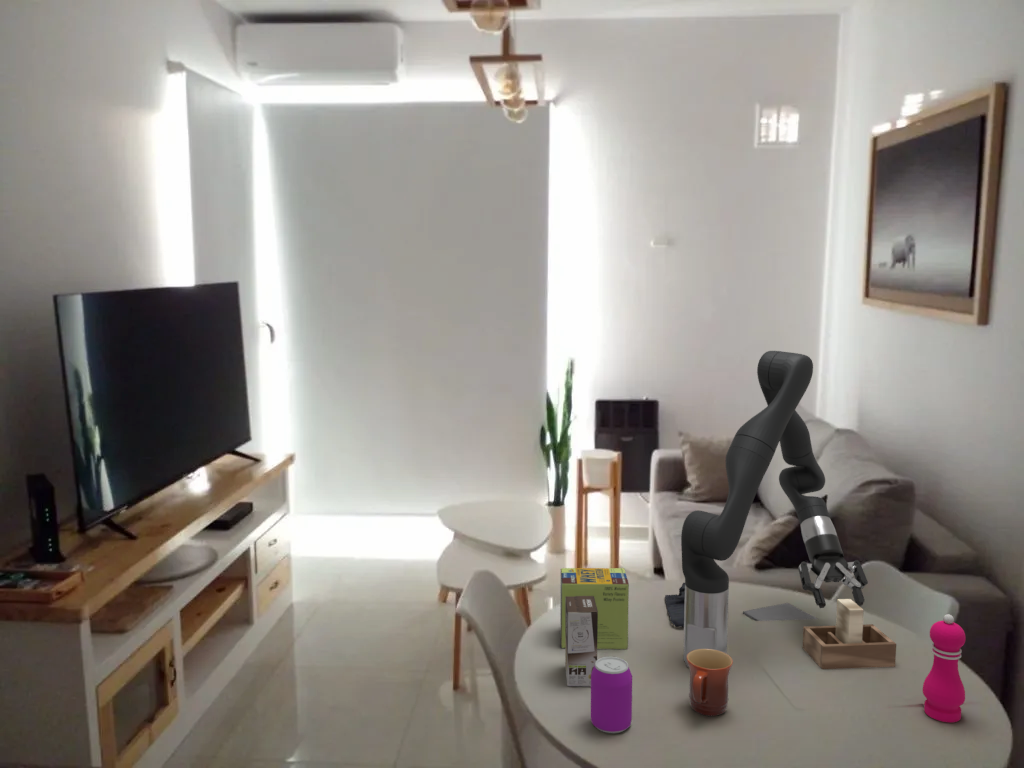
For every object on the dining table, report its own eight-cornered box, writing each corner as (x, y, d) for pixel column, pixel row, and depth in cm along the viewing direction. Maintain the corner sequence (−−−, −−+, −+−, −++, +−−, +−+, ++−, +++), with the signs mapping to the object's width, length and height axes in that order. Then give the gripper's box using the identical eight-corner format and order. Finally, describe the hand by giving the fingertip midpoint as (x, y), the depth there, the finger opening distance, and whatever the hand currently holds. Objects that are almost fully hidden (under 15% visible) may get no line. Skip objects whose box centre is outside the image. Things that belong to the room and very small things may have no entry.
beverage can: (582, 725, 152) (582, 664, 151) (606, 709, 158) (606, 650, 156) (616, 740, 147) (616, 678, 146) (639, 723, 153) (640, 663, 151)
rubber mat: (840, 632, 191) (840, 630, 191) (792, 642, 186) (793, 640, 186) (787, 604, 208) (787, 602, 208) (742, 613, 203) (742, 611, 203)
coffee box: (598, 687, 167) (598, 612, 165) (566, 686, 167) (566, 612, 165) (594, 666, 176) (594, 594, 174) (564, 666, 176) (564, 594, 174)
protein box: (628, 649, 183) (629, 583, 181) (560, 649, 184) (560, 583, 182) (624, 629, 194) (624, 567, 192) (559, 629, 194) (559, 567, 192)
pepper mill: (947, 728, 151) (954, 625, 148) (912, 710, 157) (918, 611, 154) (972, 718, 154) (979, 617, 151) (937, 701, 160) (943, 604, 158)
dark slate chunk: (661, 631, 194) (661, 612, 194) (665, 596, 215) (665, 579, 215) (727, 636, 191) (728, 617, 190) (724, 601, 212) (725, 583, 211)
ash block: (834, 650, 180) (837, 599, 179) (847, 650, 180) (850, 598, 179) (847, 663, 174) (850, 610, 173) (860, 663, 175) (863, 609, 173)
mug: (694, 693, 164) (695, 644, 163) (737, 704, 159) (738, 655, 158) (672, 720, 154) (673, 669, 153) (717, 733, 149) (719, 680, 148)
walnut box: (802, 651, 182) (803, 626, 181) (871, 648, 183) (872, 624, 182) (822, 672, 172) (823, 646, 171) (894, 669, 173) (896, 644, 172)
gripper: (796, 533, 186) (816, 600, 176) (856, 531, 187) (879, 598, 177) (786, 548, 192) (805, 614, 182) (844, 546, 193) (866, 611, 183)
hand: (841, 606), depth 180 cm, fingers open, 8 cm apart
